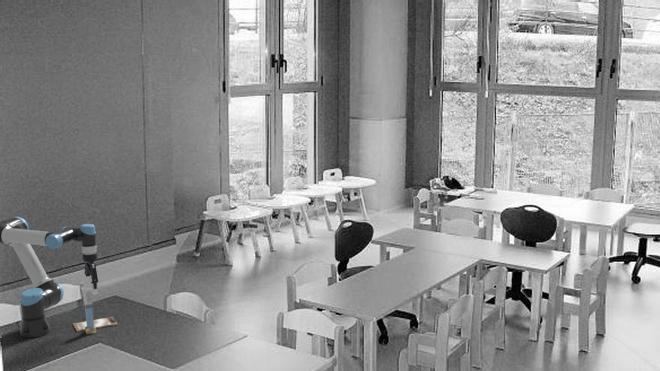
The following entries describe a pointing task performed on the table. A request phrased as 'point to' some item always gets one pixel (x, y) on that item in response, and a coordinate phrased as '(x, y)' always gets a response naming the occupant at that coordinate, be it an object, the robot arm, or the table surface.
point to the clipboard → (96, 323)
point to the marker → (89, 315)
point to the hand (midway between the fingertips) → (92, 291)
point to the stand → (90, 330)
